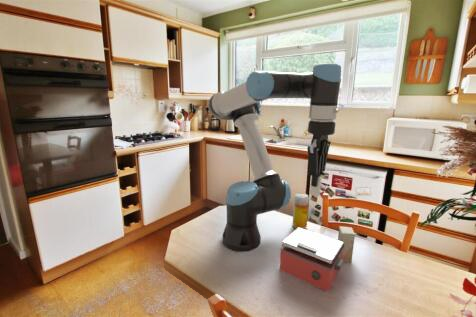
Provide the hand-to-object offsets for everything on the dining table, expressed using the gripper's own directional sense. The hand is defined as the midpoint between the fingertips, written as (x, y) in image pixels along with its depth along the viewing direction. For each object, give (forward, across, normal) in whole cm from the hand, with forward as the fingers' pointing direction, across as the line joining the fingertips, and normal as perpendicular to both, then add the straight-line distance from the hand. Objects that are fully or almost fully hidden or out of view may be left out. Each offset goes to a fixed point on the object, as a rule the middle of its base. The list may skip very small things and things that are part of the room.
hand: (314, 194), depth 78 cm
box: (+26, +11, -9) cm, 29 cm away
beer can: (+26, +21, +13) cm, 36 cm away
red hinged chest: (+26, -2, -2) cm, 26 cm away
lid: (+17, -1, -2) cm, 17 cm away
